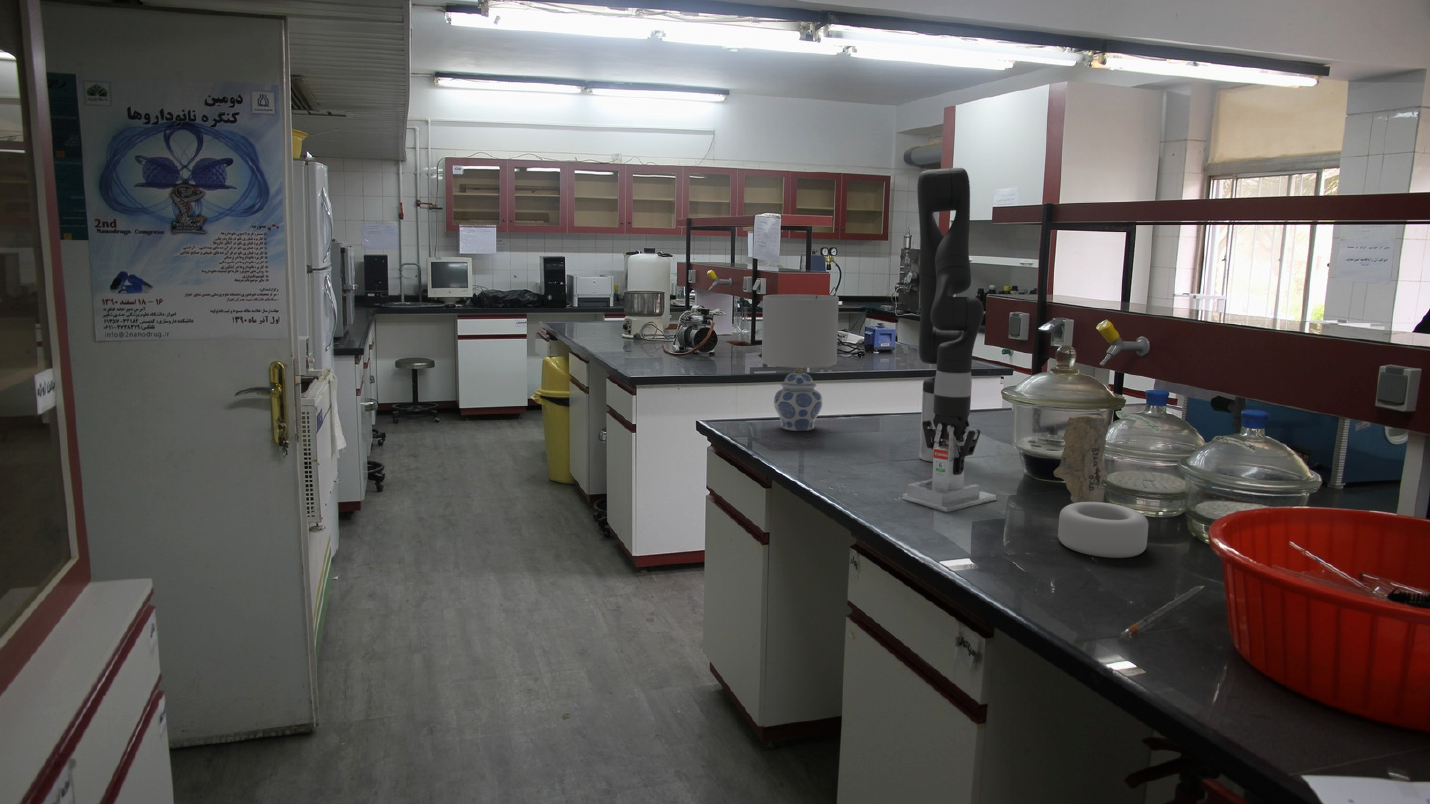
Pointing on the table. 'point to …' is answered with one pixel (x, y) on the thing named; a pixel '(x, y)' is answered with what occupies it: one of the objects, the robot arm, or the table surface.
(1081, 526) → the thick torus
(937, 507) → the bracket
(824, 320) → the lamp
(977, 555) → the table surface
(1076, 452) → the stone tool
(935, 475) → the ink box
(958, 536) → the table surface
